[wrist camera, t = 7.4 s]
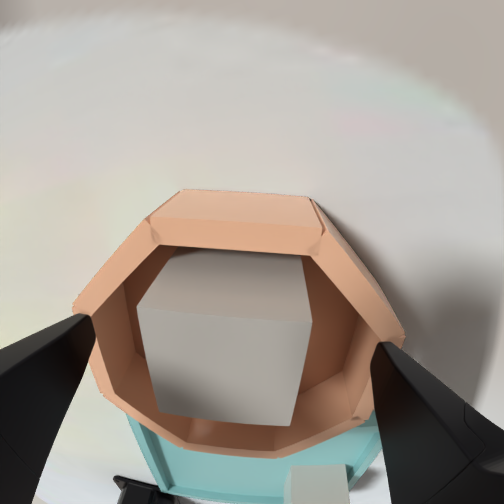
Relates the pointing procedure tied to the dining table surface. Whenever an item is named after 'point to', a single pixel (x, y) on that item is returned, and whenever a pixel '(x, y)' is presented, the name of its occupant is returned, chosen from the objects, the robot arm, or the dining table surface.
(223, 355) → the cube
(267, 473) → the tray
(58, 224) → the dining table surface
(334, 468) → the grey cardboard cube
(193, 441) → the bowl
